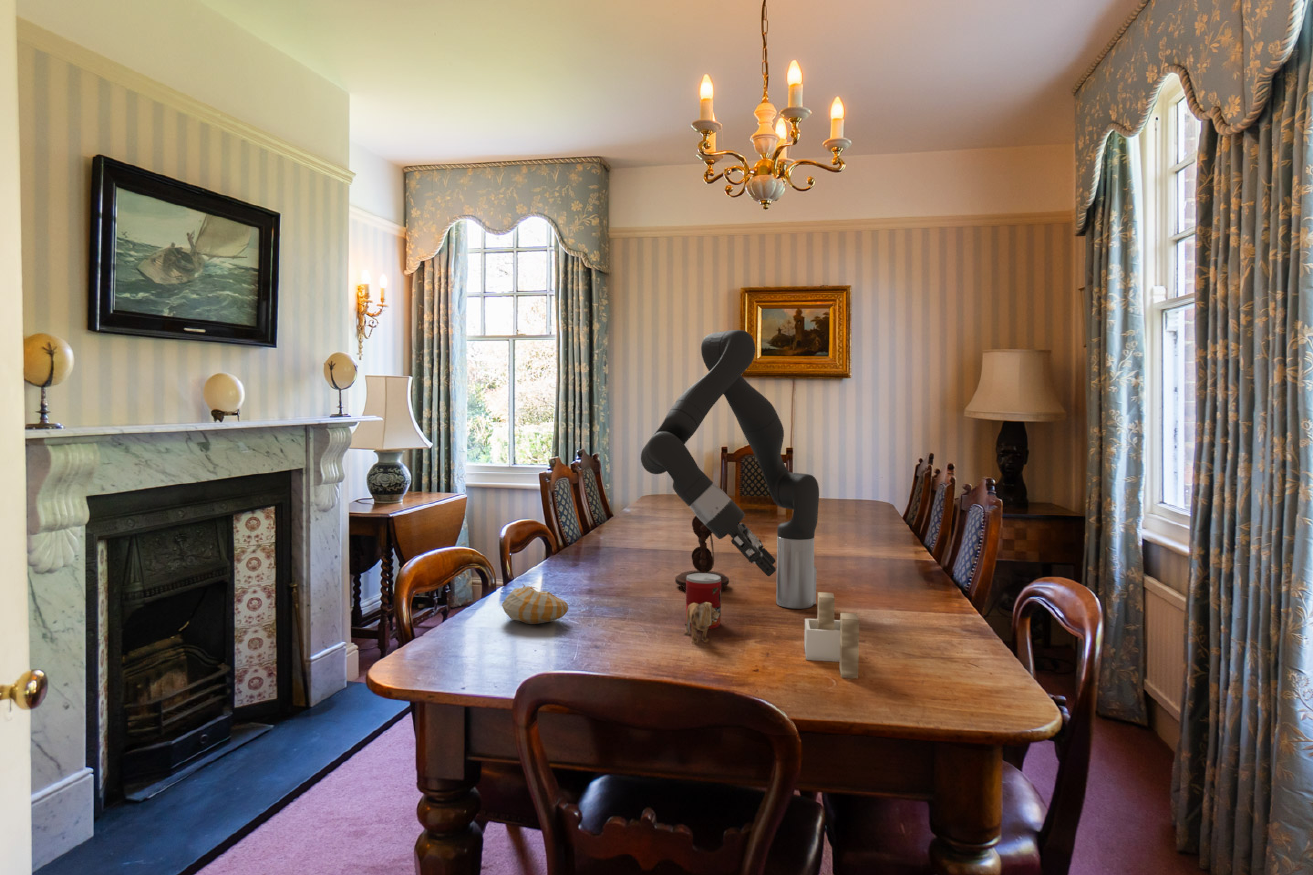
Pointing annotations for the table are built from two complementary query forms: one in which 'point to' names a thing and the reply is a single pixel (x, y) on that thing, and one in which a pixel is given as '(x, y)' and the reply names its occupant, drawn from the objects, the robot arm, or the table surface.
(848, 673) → the beige rectangular block
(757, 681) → the table surface
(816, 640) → the open square box
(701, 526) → the brown double wheel stand
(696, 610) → the lion figurine
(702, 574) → the canned food
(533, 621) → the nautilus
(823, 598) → the tall square pillar
